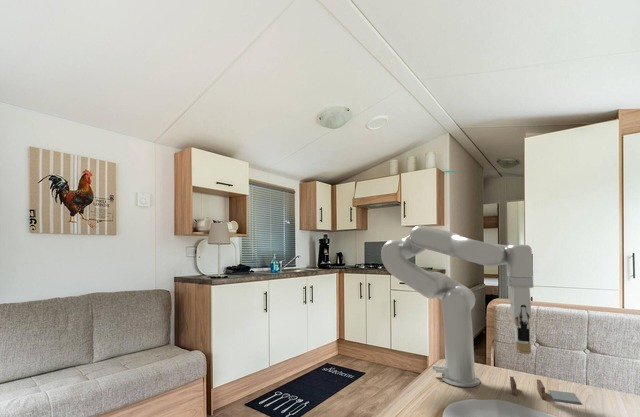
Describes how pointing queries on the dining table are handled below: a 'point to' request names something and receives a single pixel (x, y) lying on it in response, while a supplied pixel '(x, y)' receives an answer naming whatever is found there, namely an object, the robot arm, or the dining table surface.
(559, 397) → the slate coaster
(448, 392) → the dining table surface
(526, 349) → the sprinkles bottle
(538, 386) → the walnut rack
